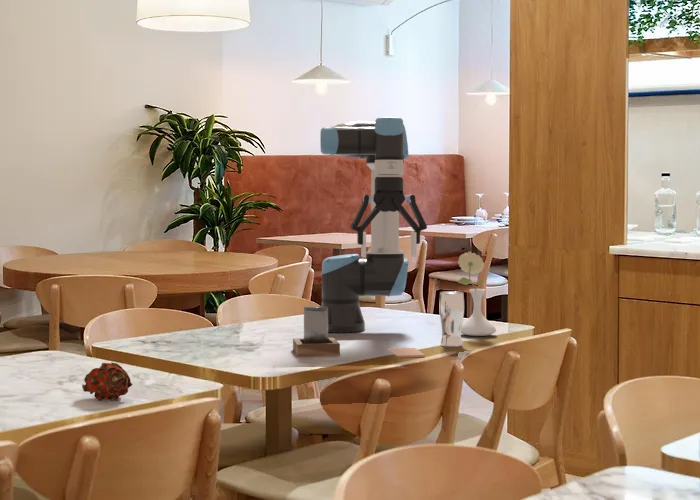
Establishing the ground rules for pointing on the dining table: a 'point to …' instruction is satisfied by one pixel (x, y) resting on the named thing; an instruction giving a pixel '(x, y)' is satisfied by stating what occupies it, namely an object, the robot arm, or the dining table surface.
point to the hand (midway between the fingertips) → (388, 256)
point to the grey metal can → (315, 324)
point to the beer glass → (451, 317)
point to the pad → (406, 352)
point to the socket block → (316, 348)
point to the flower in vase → (474, 297)
